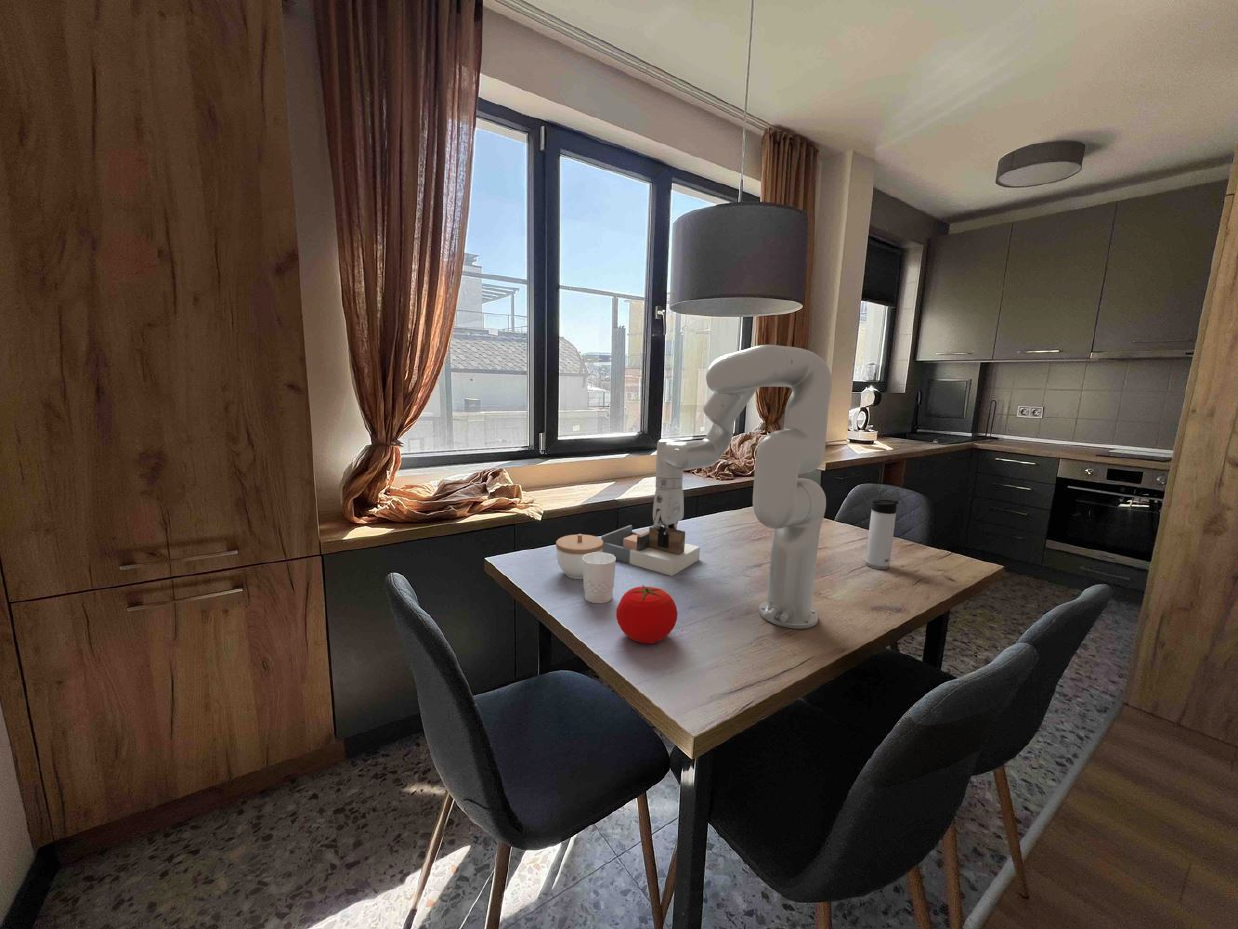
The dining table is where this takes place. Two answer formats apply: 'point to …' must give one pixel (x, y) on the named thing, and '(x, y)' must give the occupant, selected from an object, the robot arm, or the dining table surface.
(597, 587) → the white cup
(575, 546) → the lidded bowl
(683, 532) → the scraper
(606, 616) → the dining table surface
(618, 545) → the tray
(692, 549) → the board
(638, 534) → the tile
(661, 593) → the tomato
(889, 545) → the travel mug
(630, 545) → the tile
